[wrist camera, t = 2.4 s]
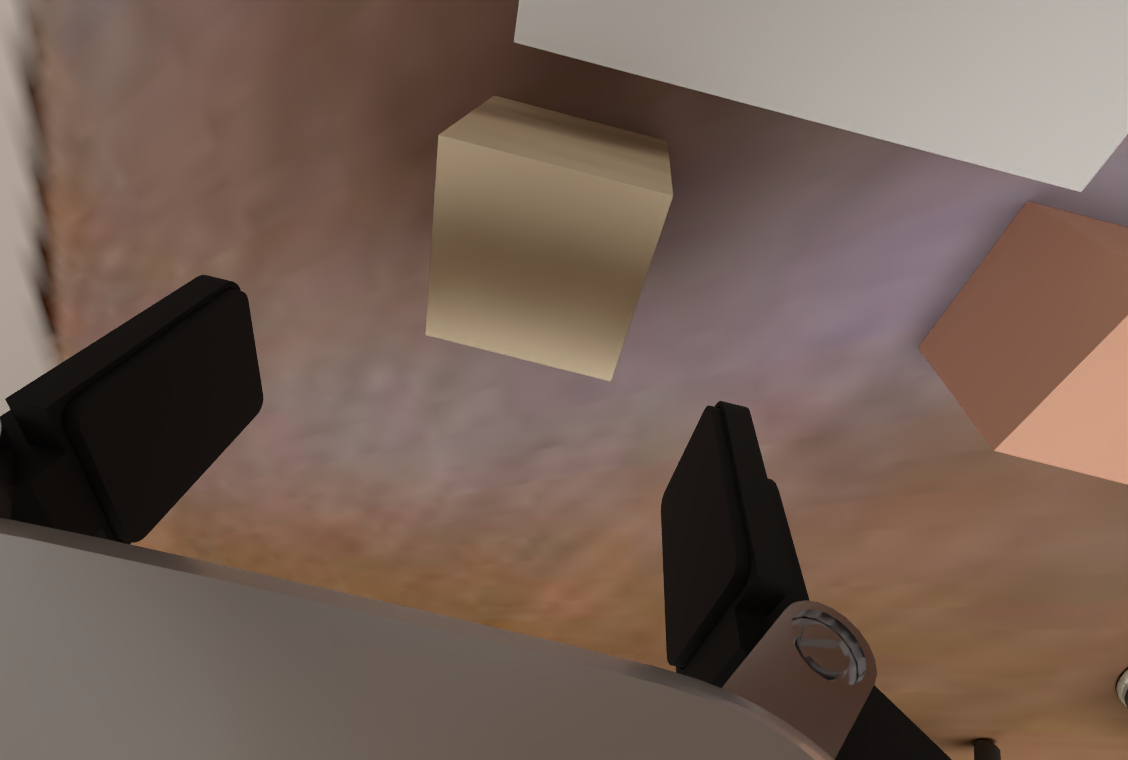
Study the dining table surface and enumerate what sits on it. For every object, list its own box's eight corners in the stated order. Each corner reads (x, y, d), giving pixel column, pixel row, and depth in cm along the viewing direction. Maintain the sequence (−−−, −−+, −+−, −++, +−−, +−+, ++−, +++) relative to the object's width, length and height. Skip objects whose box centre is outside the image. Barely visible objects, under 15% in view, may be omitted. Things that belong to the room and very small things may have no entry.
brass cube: (494, 95, 18) (438, 134, 13) (667, 140, 18) (673, 195, 13) (475, 257, 22) (425, 335, 17) (619, 294, 22) (610, 381, 17)
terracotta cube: (1025, 200, 18) (1163, 279, 13) (1196, 245, 18) (1394, 339, 13) (917, 346, 21) (993, 450, 17) (1060, 383, 22) (1177, 496, 17)
